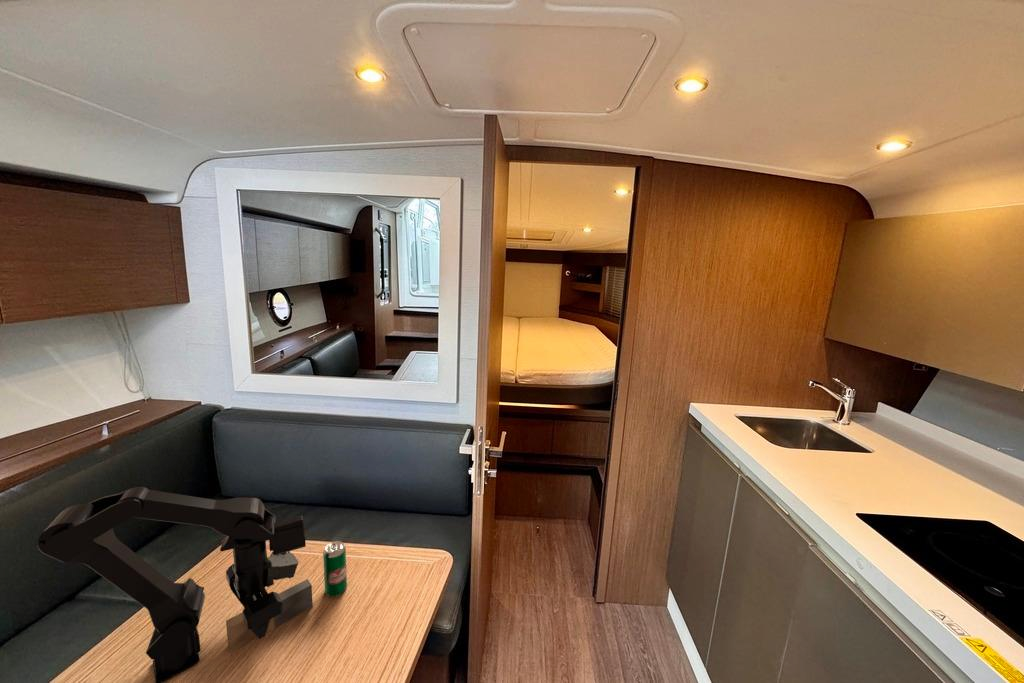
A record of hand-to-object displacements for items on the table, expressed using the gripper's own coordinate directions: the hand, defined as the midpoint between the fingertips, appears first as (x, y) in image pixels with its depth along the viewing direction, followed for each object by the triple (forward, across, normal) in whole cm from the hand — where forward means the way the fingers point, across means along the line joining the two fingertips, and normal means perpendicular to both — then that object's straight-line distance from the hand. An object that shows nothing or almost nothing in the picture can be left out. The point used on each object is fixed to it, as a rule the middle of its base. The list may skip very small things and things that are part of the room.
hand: (256, 623), depth 83 cm
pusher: (+3, 0, -3) cm, 4 cm away
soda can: (+3, 0, -17) cm, 17 cm away
